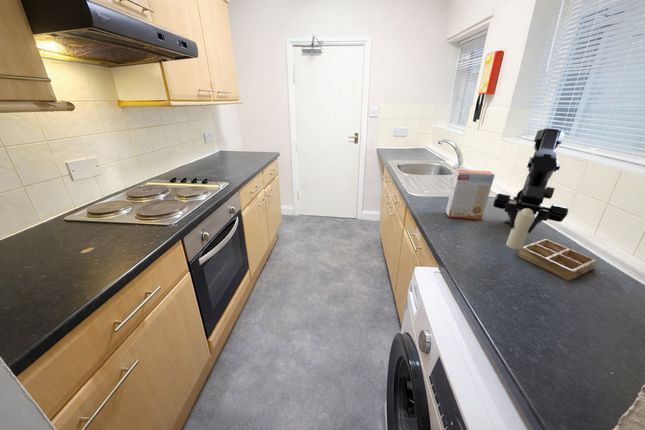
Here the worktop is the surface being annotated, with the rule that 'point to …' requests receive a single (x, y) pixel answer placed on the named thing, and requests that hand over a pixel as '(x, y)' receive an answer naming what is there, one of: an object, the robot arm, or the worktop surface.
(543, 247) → the grid
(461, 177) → the cracker box
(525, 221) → the dome-topped white cylinder
